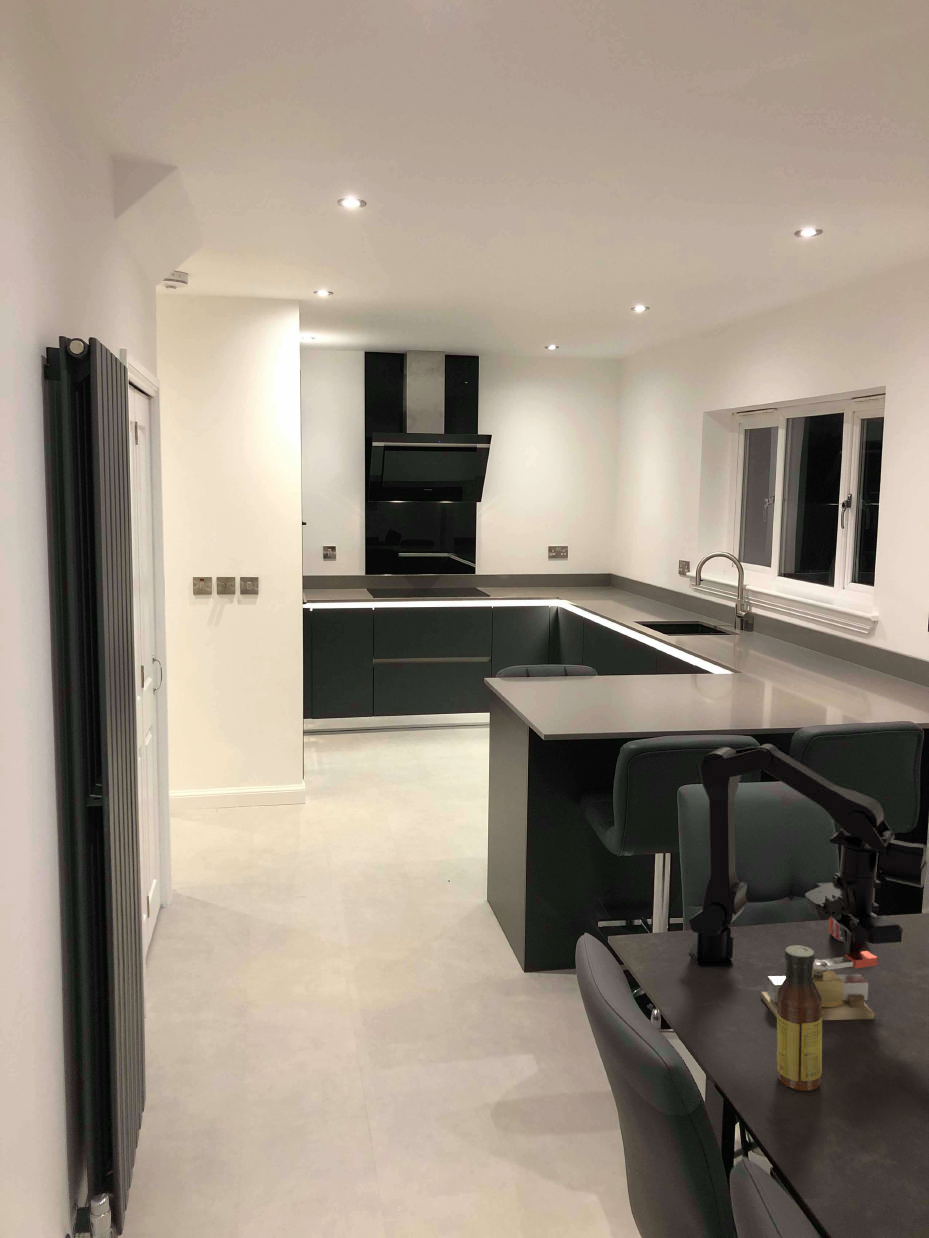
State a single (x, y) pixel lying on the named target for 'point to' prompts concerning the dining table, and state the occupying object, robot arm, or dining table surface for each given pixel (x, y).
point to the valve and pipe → (827, 987)
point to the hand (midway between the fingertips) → (851, 958)
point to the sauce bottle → (799, 1023)
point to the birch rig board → (834, 1009)
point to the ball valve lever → (846, 961)
